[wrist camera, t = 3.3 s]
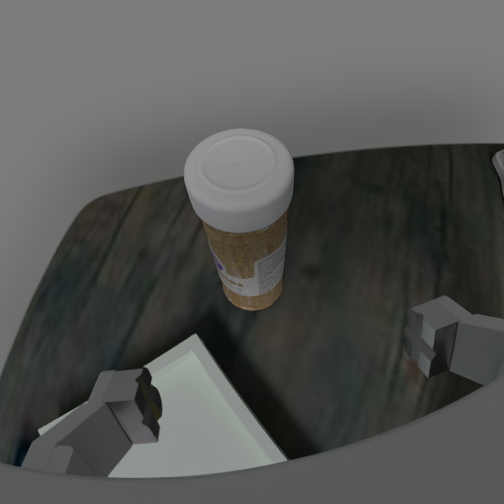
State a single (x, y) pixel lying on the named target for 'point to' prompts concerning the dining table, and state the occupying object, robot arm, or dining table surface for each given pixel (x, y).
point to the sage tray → (197, 421)
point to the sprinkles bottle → (243, 210)
